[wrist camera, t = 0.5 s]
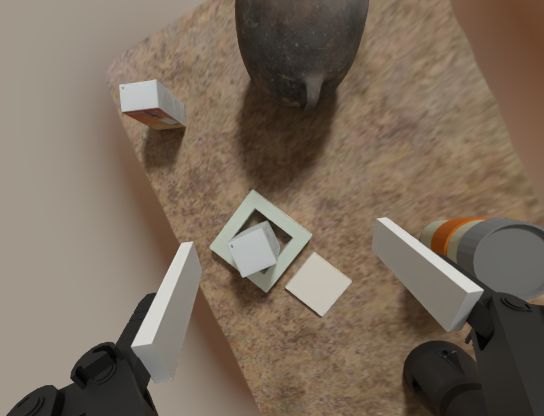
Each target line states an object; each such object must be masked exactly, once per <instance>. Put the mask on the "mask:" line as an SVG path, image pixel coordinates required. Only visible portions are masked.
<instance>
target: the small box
mask: <svg viewBox="0 0 544 416" xmlns="http://www.w3.org/2000/svg"><path fill="white" fill-rule="evenodd" d="M119 87H120V98H121V108H122V113H124V114H126V115H128V116H130V117H132V118H134V119H136V120H138V121H139V122H141V123H143V124H145V125H147V126H149V127H151V128H153V129H155V130H162V129H172V128H182V127H186V121H185V109H184V104H183V103H182V102H180V101H179V100H178V99H177V98H176V97H175V96H174V95H173V94H172V93H171V92H169V91H168V90H167V89H166V88H165V87H164V86H163V85H162V84H161V83H159V82H158V81H157V80H151V81H144V82H137V83H129V84H119Z"/></svg>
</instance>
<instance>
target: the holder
mask: <svg viewBox="0 0 544 416" xmlns="http://www.w3.org/2000/svg"><path fill="white" fill-rule="evenodd" d="M255 209H257V210H258V211H259V212H261V213H262V214H263V215H265V216H266V217H267V218H268V219H270V220H271V221H272V222H274V223H275V224H276V225H278V226H279V227H280V228H281V229H283V230H284V231H285V232H287V233H288V234H289V235H290V236H292V238H291V239H290V240H289V241H288V243H287V244H286V245H285V246H284V248H283V249H282V250H281V252H280V253H279V256H278V261H277V264H274V265H272V266H270V267H268V268H267V269H266V270H265V269H263V270H260V271H258V272H256V273H253V274H251V275H249V276H246V277H247V278H248V279H249V280H251V281H252V282H253V283H254V284H256V285H257V286H258V287H260V288H261V289H262V290H263V291H265V292H266V293H267V292H268V291H269V289H270V288H271V287H272V286H273V284H274V283H275V282H276V281H277V279H278V278H279V277H280V276H281V274H282V273H283V272H284V271H285V269H286V268H287V267H288V266H289V264H290V263H291V262H292V261H293V259H294V258H295V257H296V256H297V254H298V253H299V252H300V251H301V249H302V248H303V247H304V246H305V244H306V243H307V242H308V241H309V239H310V238H311V237H312V234H311V233H310V232H309V231H308V230H306V229H305V228H304V227H302V226H301V225H300V224H298V223H297V222H296V221H294V220H293V219H292V218H291V217H289V216H288V215H287V214H285V213H284V212H283V211H281V210H280V209H279V208H278V207H276V206H275V205H274V204H272V203H271V202H270V201H268V200H267V199H266V198H265V197H263V196H262V195H261V194H259V193H258V192H257V191H255V190H253V189H252V190H251V192H250V193H249V194H248V196H247V197H246V198H245V200H244V201H243V202H242V204H241V205H240V207H239V208H238V209H237V211H236V212H235V213H234V215H233V216H232V217H231V219H230V220H229V221H228V223H227V224H226V225H225V227H224V228H223V229H222V231H221V232H220V234H219V235H218V236H217V238H216V239H215V240H214V242H213V243H212V244H211V246H210V247H209V248H210V249H212V250H213V251H214V252H216V253H217V254H218V255H219V256H221V257H222V258H223V259H224V260H226V261H227V262H228V263H229V264H231V265H232V266H233V267H234V268H236V269H237V270H238V271H239V269H238V267H237V265H236V263H235V261H234V259H233V256H232V254H231V252H230V250H229V248H228V246H227V244H226V243H227V242H228V241H230V240H231V239H232V238H234V237H235V236H236V235H237V233H238V232H239V231H240V229H241V228H242V227H243V225H244V224H245V223H246V221H247V220H248V219H249V217H250V216H251V215H252V213H253V212H254V211H255ZM239 272H240V271H239Z"/></svg>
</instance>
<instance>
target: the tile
mask: <svg viewBox="0 0 544 416" xmlns="http://www.w3.org/2000/svg"><path fill="white" fill-rule="evenodd" d="M351 282H352V281H351V280H350V279H349V278H348V277H347V276H345V275H344V274H343V273H341V272H340V271H339V270H338V269H336V268H335V267H334V266H332V265H331V264H330V263H328V262H327V261H326V260H325V259H323V258H322V257H321V256H319V255H318V254H317V253H316V252H314V251H313V252H312V253H311V254H310V256H309V257H308V258H307V259H306V261H305V262H304V263H303V264H302V266H301V267H300V268H299V269H298V270H297V272H296V273H295V274H294V275H293V277H292V278H291V279H290V280H289V282H288V283H287V284H286V285H285V288H286V289H288V290H289V291H290V292H291V293H293V294H294V295H295V296H296V297H298V298H299V299H300V300H301V301H303V302H304V303H305V304H307V305H308V306H309V307H310V308H312V309H313V310H314V311H315V312H317V313H318V314H319V315H320V316H323V315H324V314H325V313H326V312H327V311H328V309H329V308H330V307H331V306H332V305H333V304H334V302H335V301H336V300H337V299H338V298H339V296H340V295H341V294H342V293H343V292H344V291H345V289H346V288H347V287H348V286H349V285H350V283H351Z"/></svg>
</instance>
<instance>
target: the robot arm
mask: <svg viewBox="0 0 544 416" xmlns="http://www.w3.org/2000/svg"><path fill="white" fill-rule="evenodd" d="M371 249H372V251H373V252H374V253H375V254H376V255H377V256H378V257H379V258H380V259H381V260H382V262H383V263H384V264H385V265H386V266H387V267H388V268H389V269H390V270H391V271H392V272H393V274H394V275H395V276H396V277H397V278H398V279H399V280H400V281H401V282H402V283H403V284H404V286H405V287H406V288H407V289H408V290H409V291H410V292H411V293H412V294H413V295H414V296H415V298H416V299H417V300H418V301H419V302H420V303H421V304H422V305H423V306H424V307H425V309H426V310H427V311H428V312H429V313H430V314H431V315H432V316H433V317H434V318H435V319H436V321H437V322H438V323H439V324H440V325H441V326H442V327H443V328H444V329H445V330H446V331H447V332H452V331H458V330H462V328H463V326H464V325H465V323H466V322H467V323H468V324H469V325H470V326H471V327H472V329H471V331H470V332H469V334H468V336H467V337H466V339H465V343H466V344H468V343H469V342H470V340H471V339H472V342H473V345H472V346H473V347H474V352H475V357H476V361H477V363H476V361H475V360H474V359H473V358H472V357H471V356H470V355H469V354H467V353H466V352H465V351H464V350H463V349H462V348H460V347H459V346H457V345H455V344H453V343H450V342H446V341H430V342H426V343H424V344H421V345H419V346H418V347H416V348H415V349H414V350H413V351H412V352H411V353H410V354H409V356H408V358H407V360H406V363H405V367H404V374H405V379H406V382H407V384H408V386H409V388H410V389H411V391H412V392H413V394H414V395H415V397H416V398H417V399H418V400H419V402H420V403H421V404H423V405H424V406H425V407H426V408H427V409H428V410H429V411H430V412H431V413H432V414H433V415H434V416H544V306H542V305H534V304H529V303H527V302H526V301H524V300H522V299H520V298H519V297H517V296H514V295H511V294H508V293H503V292H495V291H494V290H492V289H491V288H490V287H488V286H487V285H485V284H484V283H483V282H481V281H480V280H478V279H477V278H476V277H474V276H473V275H471V274H470V273H469V272H467V271H465V270H464V269H463V268H462V267H460V266H459V265H457V264H456V263H455V262H453V261H452V260H451V259H449V258H448V257H446V256H444V255H441V254H439V253H437V252H436V253H434V252H432V251H431V250H430V249H428V248H427V247H426V246H424V245H423V244H422V243H420V242H419V241H418V240H416V239H415V238H414V237H412V236H411V235H410V234H408V233H407V232H406V231H404V230H403V229H402V228H400V227H399V226H398V225H396V224H395V223H394V222H392V221H391V220H390V219H388V218H387V217H386V218H378V219H377V220H376V225H375V230H374V236H373V241H372V246H371ZM201 275H202V269H201V266H200V262H199V259H198V256H197V252H196V249H195V246H194V242H185V243H181V245H180V247H179V250H178V252H177V254H176V256H175V258H174V260H173V262H172V264H171V266H170V268H169V270H168V272H167V274H166V276H165V278H164V280H163V282H162V284H161V286H160V288H159V290H158V292H157V293H151V294H147V295H146V296H145V297H144V298H143V299H142V300H141V301H140V303H139V304H138V306H137V307H136V309H135V311H134V314H133V315H132V316H131V318H130V320H129V323H128V324H127V325H126V327H125V329H124V331H123V333H122V334H121V336H120V338H119V340H118V341H117V343H116V345H115V344H114V343H113V342H105V343H101V344H99V345H97V346H95V347H93V348H91V349H90V350H89V351H88V352H86V353H85V354H84V355H83V356H82V357H81V358H80V359H79V360H78V361H77V362H76V364H75V366H74V368H73V369H72V371H71V377H70V378H71V379H72V380H73V381H74V382H75V383H73V384H70V385H69V386H66V387H64V388H62V389H60V390H58V389H56V388H55V387H54V386H53V385H45V386H43V387H40V388H38V389H36V390H34V391H33V392H31V393H30V394H28V395H27V396H25V397H24V398H23V399H22V400H21V401H20V402H18V403H17V404H16V405H15V406H14V407H13V409H12V410H11V411H10V412H9V413H8V414H7V415H6V416H158V414H157V411H156V409H155V406H154V404H153V401H152V398H151V396H150V393H149V391H148V389H147V385H148V383H149V380H150V377H151V378H152V380H153V381H154V383H160V382H167V381H172V380H173V378H174V375H175V371H176V367H177V363H178V360H179V356H180V352H181V349H182V345H183V341H184V338H185V334H186V330H187V327H188V323H189V319H190V315H191V312H192V308H193V305H194V301H195V297H196V293H197V290H198V286H199V283H200V279H201Z"/></svg>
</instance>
